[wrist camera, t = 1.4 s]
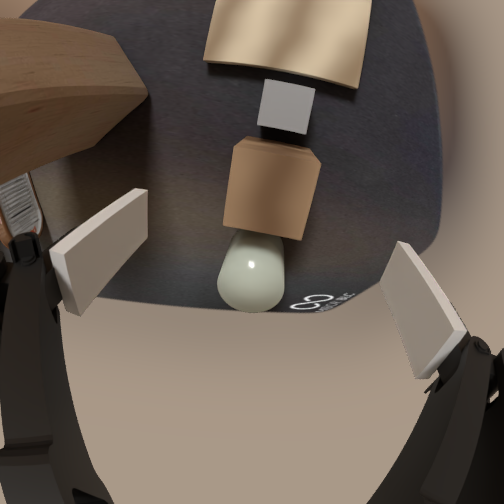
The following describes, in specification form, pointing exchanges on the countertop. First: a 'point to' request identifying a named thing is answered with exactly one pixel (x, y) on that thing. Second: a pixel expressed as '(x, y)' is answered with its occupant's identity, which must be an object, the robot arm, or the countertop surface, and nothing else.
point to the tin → (19, 209)
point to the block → (59, 92)
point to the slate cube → (285, 106)
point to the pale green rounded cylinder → (252, 272)
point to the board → (292, 37)
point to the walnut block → (270, 187)
